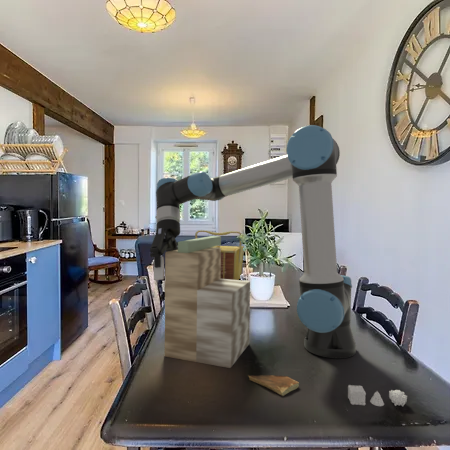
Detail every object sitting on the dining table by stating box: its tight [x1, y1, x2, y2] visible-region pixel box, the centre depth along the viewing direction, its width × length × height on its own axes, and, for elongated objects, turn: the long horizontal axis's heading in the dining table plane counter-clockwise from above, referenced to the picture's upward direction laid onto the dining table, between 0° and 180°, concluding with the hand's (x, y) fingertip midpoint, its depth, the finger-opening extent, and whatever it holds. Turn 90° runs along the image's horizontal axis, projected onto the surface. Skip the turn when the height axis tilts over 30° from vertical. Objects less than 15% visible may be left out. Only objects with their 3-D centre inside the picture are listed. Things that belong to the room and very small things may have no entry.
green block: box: [177, 235, 222, 253], centre depth 109 cm, size 26×3×3 cm, turn 160°
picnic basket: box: [194, 229, 245, 280], centre depth 207 cm, size 29×26×30 cm
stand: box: [164, 247, 251, 369], centre depth 103 cm, size 18×20×30 cm
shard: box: [247, 374, 300, 397], centre depth 85 cm, size 11×8×2 cm
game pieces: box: [347, 384, 408, 407], centre depth 76 cm, size 12×3×3 cm, turn 84°
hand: (169, 287), depth 102 cm, fingers open, 14 cm apart
